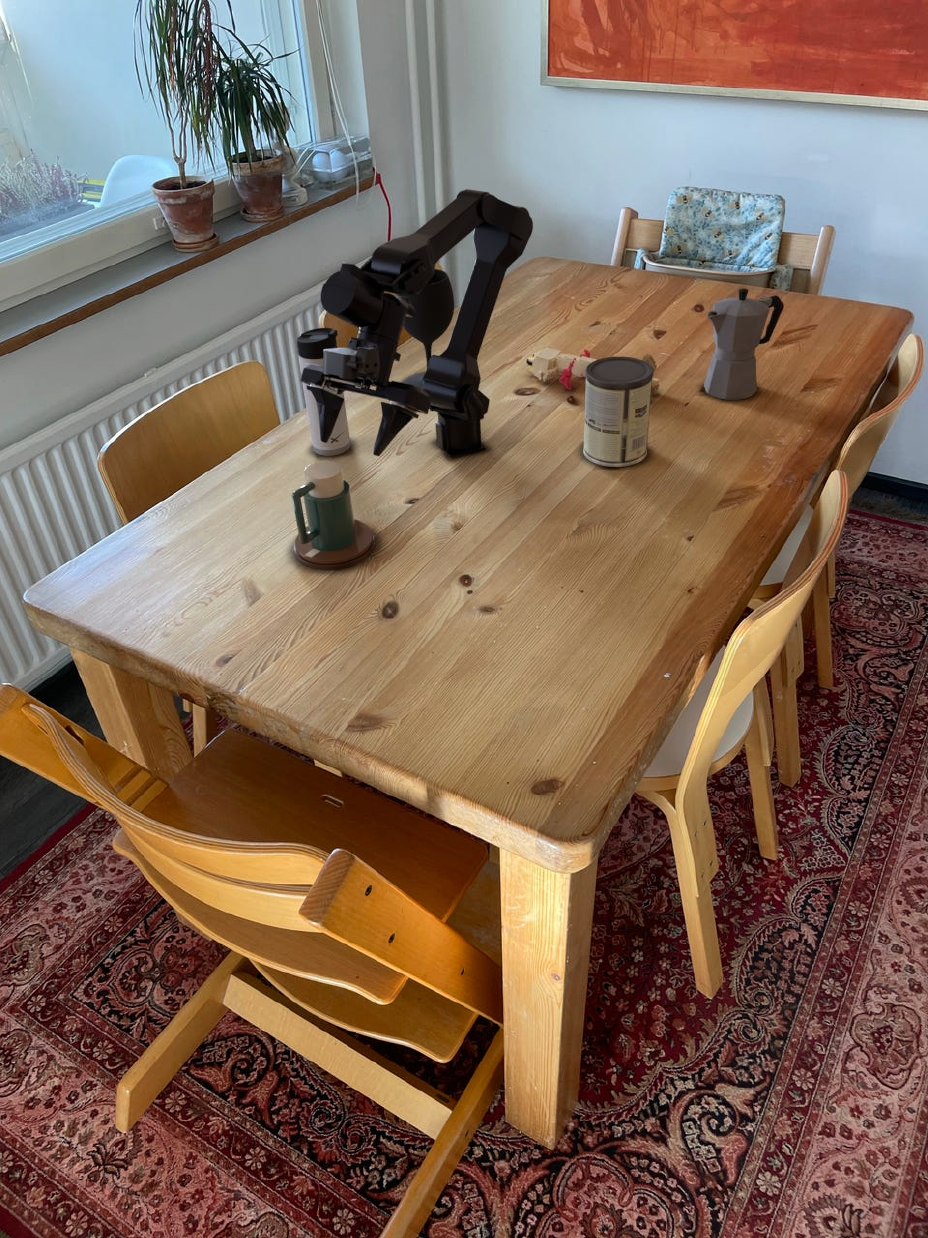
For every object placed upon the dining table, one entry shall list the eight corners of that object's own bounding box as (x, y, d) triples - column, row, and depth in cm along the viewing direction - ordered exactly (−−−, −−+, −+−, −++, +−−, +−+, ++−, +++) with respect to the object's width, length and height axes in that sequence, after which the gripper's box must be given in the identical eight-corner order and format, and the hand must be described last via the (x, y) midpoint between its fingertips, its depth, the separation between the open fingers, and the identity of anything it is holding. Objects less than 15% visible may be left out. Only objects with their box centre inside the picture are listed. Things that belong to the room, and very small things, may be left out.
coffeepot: (713, 407, 162) (727, 304, 151) (683, 387, 169) (693, 287, 158) (787, 389, 167) (805, 287, 156) (754, 370, 174) (769, 271, 162)
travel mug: (345, 457, 154) (329, 339, 142) (307, 455, 155) (288, 337, 143) (357, 440, 159) (342, 324, 147) (320, 437, 160) (302, 322, 148)
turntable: (360, 517, 139) (359, 513, 139) (387, 556, 131) (387, 551, 130) (284, 537, 136) (283, 533, 135) (307, 579, 127) (306, 574, 127)
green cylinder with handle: (330, 513, 139) (319, 442, 132) (388, 534, 134) (380, 461, 126) (275, 551, 131) (261, 478, 124) (335, 575, 126) (323, 500, 119)
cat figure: (661, 393, 170) (538, 359, 180) (669, 347, 165) (542, 315, 174) (640, 415, 164) (514, 379, 173) (647, 368, 158) (517, 333, 168)
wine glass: (466, 375, 178) (461, 268, 165) (447, 399, 170) (440, 288, 158) (415, 370, 180) (406, 264, 168) (394, 393, 173) (383, 284, 160)
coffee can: (594, 433, 157) (597, 352, 148) (654, 443, 153) (661, 360, 145) (573, 461, 150) (575, 377, 141) (636, 472, 146) (642, 387, 137)
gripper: (290, 310, 127) (262, 423, 128) (404, 330, 118) (372, 451, 120) (337, 335, 137) (310, 440, 138) (445, 355, 128) (415, 466, 130)
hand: (349, 448), depth 131 cm, fingers open, 9 cm apart
